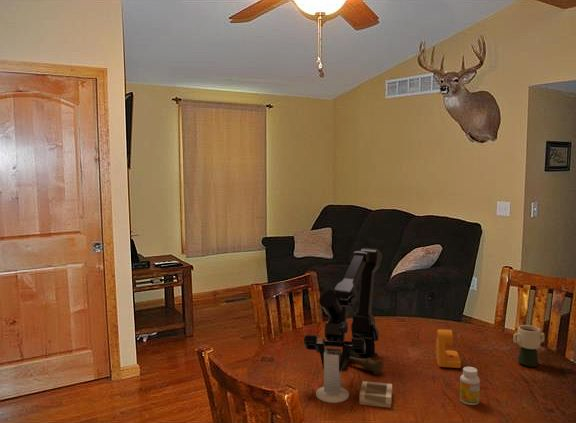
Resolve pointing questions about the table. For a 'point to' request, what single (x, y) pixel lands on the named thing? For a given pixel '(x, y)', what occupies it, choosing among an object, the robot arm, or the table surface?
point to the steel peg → (332, 371)
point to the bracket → (446, 356)
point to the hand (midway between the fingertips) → (331, 370)
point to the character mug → (528, 344)
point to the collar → (376, 394)
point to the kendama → (366, 363)
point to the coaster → (332, 396)
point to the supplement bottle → (469, 386)
